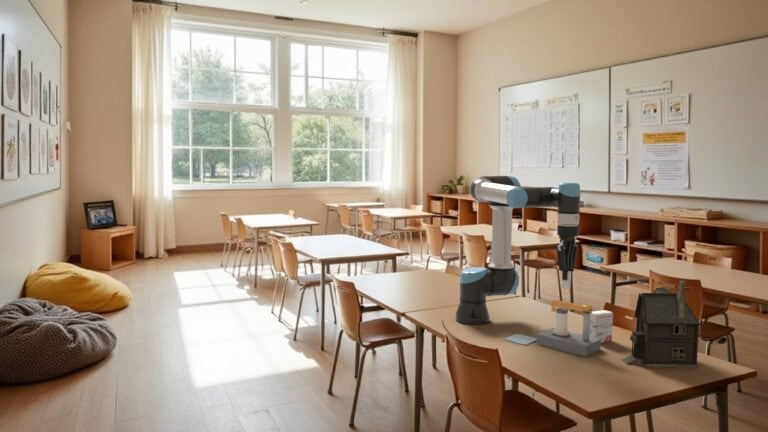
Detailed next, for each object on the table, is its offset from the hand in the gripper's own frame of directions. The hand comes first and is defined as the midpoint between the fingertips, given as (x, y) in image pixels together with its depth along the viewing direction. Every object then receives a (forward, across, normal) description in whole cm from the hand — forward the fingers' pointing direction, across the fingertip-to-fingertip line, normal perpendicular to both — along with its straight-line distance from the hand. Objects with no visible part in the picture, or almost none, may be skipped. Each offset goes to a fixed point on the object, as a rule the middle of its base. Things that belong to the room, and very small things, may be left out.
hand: (566, 288), depth 206 cm
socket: (+24, +7, +2) cm, 25 cm away
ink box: (+24, +23, -3) cm, 34 cm away
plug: (+24, +7, +5) cm, 26 cm away
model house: (+25, +17, -26) cm, 39 cm away
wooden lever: (+12, +7, +1) cm, 14 cm away
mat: (+24, +1, +19) cm, 31 cm away
